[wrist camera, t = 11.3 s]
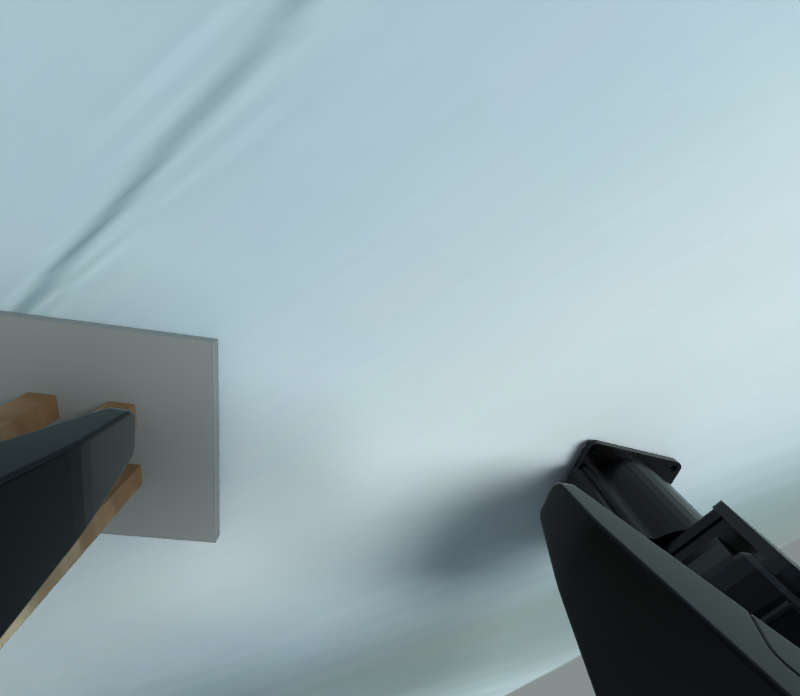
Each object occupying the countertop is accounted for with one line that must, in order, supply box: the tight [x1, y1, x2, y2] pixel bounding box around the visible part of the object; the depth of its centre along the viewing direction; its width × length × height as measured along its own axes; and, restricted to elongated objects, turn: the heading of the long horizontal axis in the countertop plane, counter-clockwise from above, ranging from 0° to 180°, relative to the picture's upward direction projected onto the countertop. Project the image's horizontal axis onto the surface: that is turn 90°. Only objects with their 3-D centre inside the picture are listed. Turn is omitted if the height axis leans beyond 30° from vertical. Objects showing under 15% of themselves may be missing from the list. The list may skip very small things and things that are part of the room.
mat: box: [0, 311, 219, 543], centre depth 22 cm, size 14×14×1 cm
